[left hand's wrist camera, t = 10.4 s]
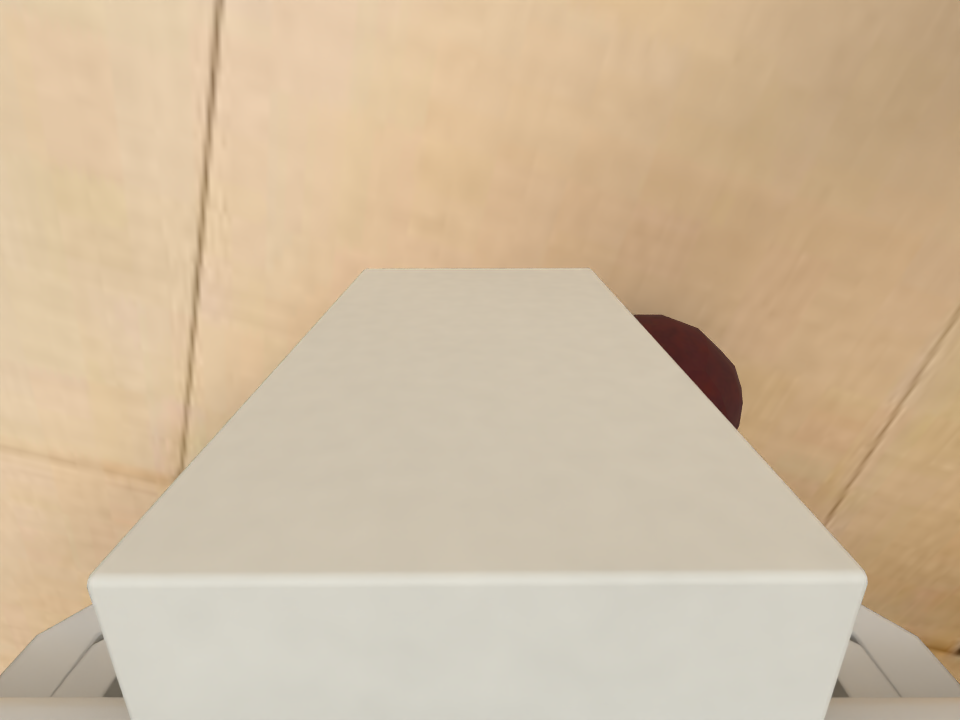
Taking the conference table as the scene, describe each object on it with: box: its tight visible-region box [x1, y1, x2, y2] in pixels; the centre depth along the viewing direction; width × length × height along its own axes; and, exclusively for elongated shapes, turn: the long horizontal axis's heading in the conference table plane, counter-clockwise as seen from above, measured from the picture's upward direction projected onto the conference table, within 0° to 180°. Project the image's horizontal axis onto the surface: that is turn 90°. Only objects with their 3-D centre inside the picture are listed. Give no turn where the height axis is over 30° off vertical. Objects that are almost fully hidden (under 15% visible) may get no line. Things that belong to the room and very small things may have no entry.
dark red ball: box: [634, 315, 743, 430], centre depth 25 cm, size 7×8×7 cm
